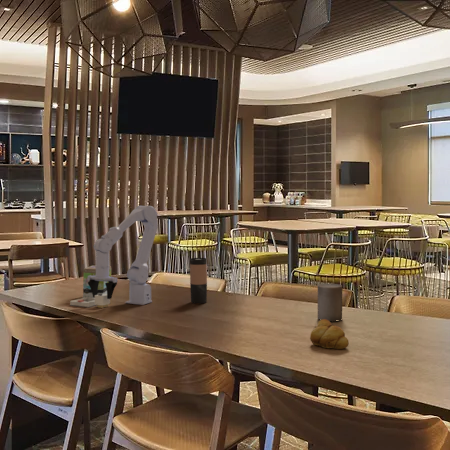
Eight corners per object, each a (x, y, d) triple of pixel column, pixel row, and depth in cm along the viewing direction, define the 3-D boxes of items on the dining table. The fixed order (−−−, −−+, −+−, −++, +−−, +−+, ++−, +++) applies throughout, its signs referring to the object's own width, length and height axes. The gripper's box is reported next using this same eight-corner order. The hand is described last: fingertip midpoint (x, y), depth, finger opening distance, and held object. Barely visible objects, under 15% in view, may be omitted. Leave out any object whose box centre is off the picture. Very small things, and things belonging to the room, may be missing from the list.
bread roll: (354, 348, 180) (355, 323, 180) (334, 353, 174) (335, 327, 174) (323, 340, 190) (324, 316, 190) (304, 344, 184) (304, 320, 184)
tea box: (104, 300, 259) (104, 268, 259) (82, 300, 260) (82, 268, 259) (111, 295, 274) (111, 264, 274) (90, 295, 275) (90, 264, 274)
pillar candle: (343, 318, 226) (343, 280, 225) (341, 323, 217) (341, 284, 216) (318, 316, 229) (318, 280, 228) (315, 321, 219) (316, 283, 219)
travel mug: (208, 300, 261) (207, 257, 260) (206, 303, 253) (205, 259, 252) (191, 300, 262) (191, 257, 261) (189, 303, 254) (188, 259, 253)
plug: (110, 306, 246) (110, 292, 246) (103, 308, 242) (103, 294, 241) (101, 305, 248) (101, 291, 248) (94, 307, 244) (94, 293, 243)
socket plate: (104, 303, 252) (104, 297, 252) (88, 307, 242) (88, 301, 242) (86, 301, 257) (86, 295, 257) (69, 305, 247) (69, 299, 247)
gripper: (83, 266, 244) (82, 297, 244) (110, 268, 237) (110, 300, 238) (93, 265, 250) (93, 295, 251) (120, 267, 244) (120, 298, 244)
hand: (102, 297), depth 245 cm, fingers open, 7 cm apart
